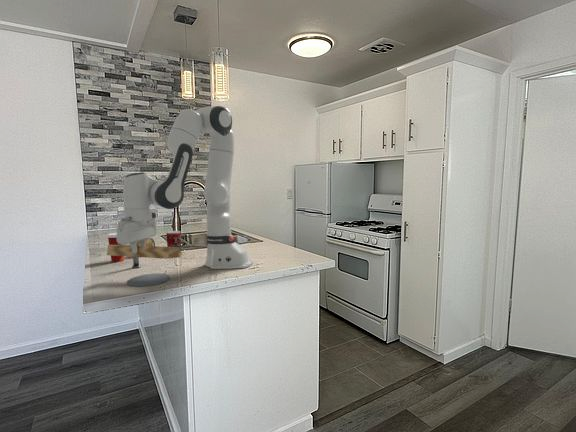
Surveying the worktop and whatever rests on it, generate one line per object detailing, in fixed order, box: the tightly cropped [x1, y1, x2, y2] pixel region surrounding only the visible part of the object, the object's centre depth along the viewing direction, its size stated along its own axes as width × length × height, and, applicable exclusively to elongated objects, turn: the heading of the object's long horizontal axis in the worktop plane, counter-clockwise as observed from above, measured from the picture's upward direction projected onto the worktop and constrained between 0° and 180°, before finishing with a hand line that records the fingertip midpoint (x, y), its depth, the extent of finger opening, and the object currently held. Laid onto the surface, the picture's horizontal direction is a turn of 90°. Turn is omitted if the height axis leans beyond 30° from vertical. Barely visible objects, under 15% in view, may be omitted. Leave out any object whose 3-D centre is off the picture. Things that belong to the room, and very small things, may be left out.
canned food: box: [166, 230, 182, 248], centre depth 186 cm, size 8×8×11 cm
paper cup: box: [107, 232, 125, 263], centre depth 163 cm, size 8×8×14 cm
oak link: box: [106, 244, 182, 260], centre depth 128 cm, size 24×12×4 cm, turn 82°
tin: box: [137, 237, 156, 246], centre depth 178 cm, size 15×3×8 cm, turn 168°
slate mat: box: [126, 272, 171, 287], centre depth 130 cm, size 16×16×1 cm
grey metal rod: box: [131, 242, 142, 269], centre depth 150 cm, size 4×4×13 cm
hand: (138, 251), depth 123 cm, fingers closed on oak link, 2 cm apart
